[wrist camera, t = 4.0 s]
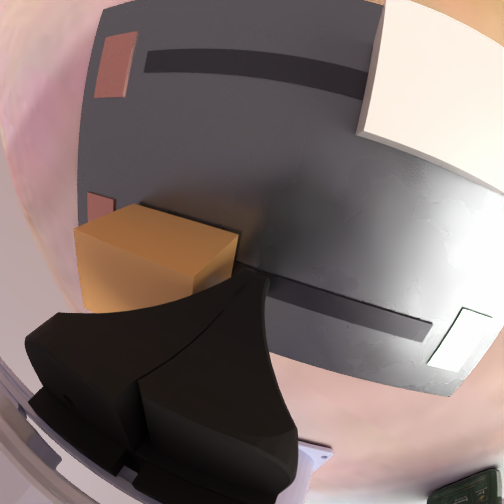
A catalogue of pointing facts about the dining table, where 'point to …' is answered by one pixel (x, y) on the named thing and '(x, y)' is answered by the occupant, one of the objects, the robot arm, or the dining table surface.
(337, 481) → the dining table surface
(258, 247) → the breaker panel
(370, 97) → the switch
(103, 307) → the plain orange cube
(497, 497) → the coffee jar
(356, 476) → the dining table surface
